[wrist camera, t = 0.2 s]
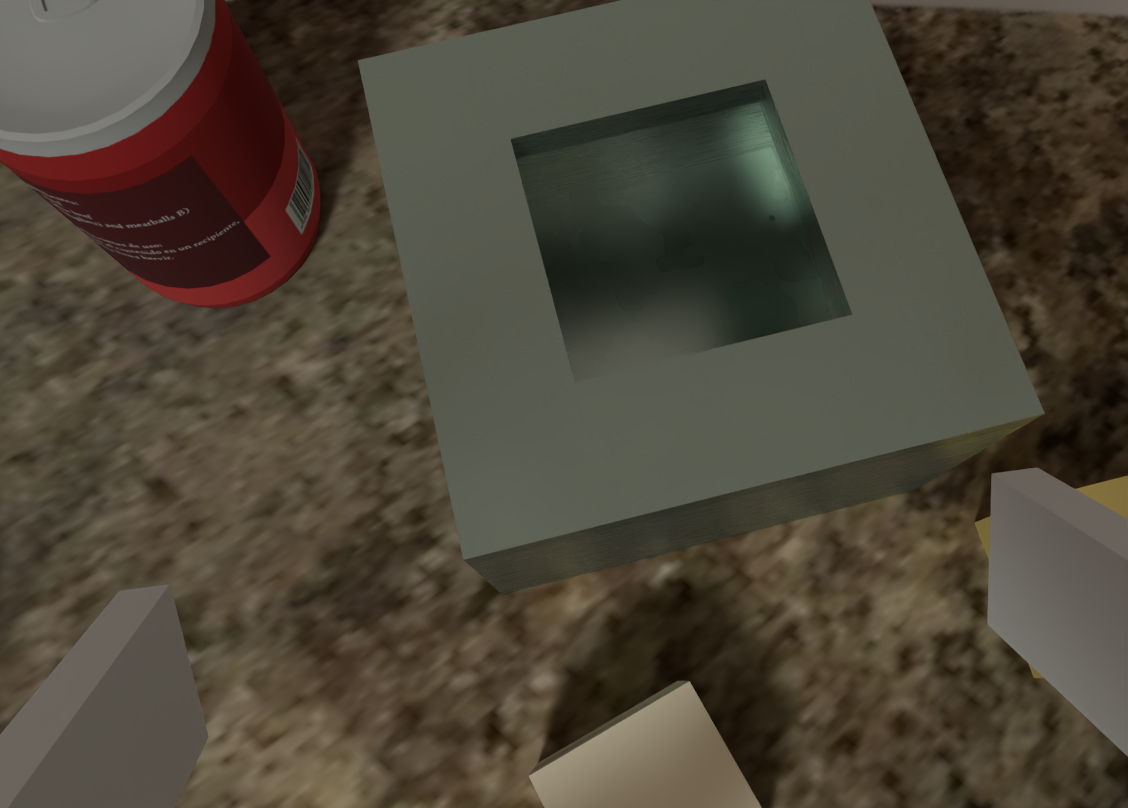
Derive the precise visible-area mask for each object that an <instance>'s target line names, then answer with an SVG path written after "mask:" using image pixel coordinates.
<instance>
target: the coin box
mask: <svg viewBox="0 0 1128 808" xmlns="http://www.w3.org/2000/svg"><path fill="white" fill-rule="evenodd" d="M358 64H359V68H360V73H361V78H362V83H363V87H364V92H365V97H366V101H367V106H368V111H369V116H370V120H371V125H372V130H373V135H374V139H375V144H376V149H377V153H378V158H379V163H380V168H381V172H382V177H383V182H384V187H385V191H386V196H387V201H388V205H389V210H390V215H391V220H392V224H393V229H394V234H395V238H396V243H397V248H398V253H399V257H400V262H401V267H402V272H403V276H404V281H405V286H406V290H407V295H408V300H409V305H410V309H411V314H412V319H413V324H414V328H415V333H416V338H417V342H418V347H419V352H420V357H421V361H422V366H423V371H424V376H425V380H426V385H427V390H428V394H429V399H430V404H431V409H432V413H433V418H434V423H435V427H436V432H437V437H438V442H439V446H440V451H441V456H442V461H443V465H444V470H445V475H446V479H447V484H448V489H449V494H450V498H451V503H452V508H453V513H454V517H455V522H456V527H457V531H458V536H459V541H460V546H461V550H462V555H463V560H464V561H465V562H467V563H468V564H469V565H470V566H471V567H472V568H473V569H475V570H476V571H477V572H478V573H479V574H480V575H481V576H482V577H484V578H485V579H486V580H487V581H488V582H489V583H490V584H492V585H493V586H494V587H495V588H496V589H497V590H498V591H499V592H501V593H502V594H506V593H510V592H514V591H518V590H521V589H525V588H529V587H533V586H537V585H541V584H545V583H549V582H553V581H557V580H561V579H565V578H569V577H573V576H577V575H581V574H585V573H589V572H592V571H596V570H600V569H604V568H608V567H612V566H616V565H620V564H624V563H628V562H632V561H636V560H640V559H644V558H648V557H652V556H656V555H660V554H664V553H667V552H671V551H675V550H679V549H683V548H687V547H691V546H695V545H699V544H703V543H707V542H711V541H715V540H719V539H723V538H727V537H731V536H735V535H738V534H742V533H746V532H750V531H754V530H758V529H762V528H766V527H770V526H774V525H778V524H782V523H786V522H790V521H794V520H798V519H802V518H806V517H809V516H813V515H817V514H821V513H825V512H829V511H833V510H837V509H841V508H845V507H849V506H853V505H857V504H861V503H865V502H869V501H873V500H877V499H881V498H884V497H888V496H892V495H896V494H900V493H904V492H908V491H912V490H915V489H917V488H919V487H920V486H922V485H924V484H926V483H927V482H929V481H931V480H932V479H934V478H936V477H938V476H939V475H941V474H943V473H944V472H946V471H948V470H949V469H951V468H953V467H955V466H956V465H958V464H960V463H961V462H963V461H965V460H967V459H968V458H970V457H972V456H973V455H975V454H977V453H978V452H980V451H982V450H984V449H985V448H987V447H989V446H990V445H992V444H994V443H996V442H997V441H999V440H1001V439H1002V438H1004V437H1006V436H1007V435H1009V434H1011V433H1013V432H1014V431H1016V430H1018V429H1019V428H1021V427H1023V426H1025V425H1026V424H1028V423H1030V422H1031V421H1033V420H1035V419H1036V418H1038V417H1040V416H1042V415H1043V414H1045V413H1044V410H1043V408H1042V406H1041V403H1040V401H1039V398H1038V396H1037V394H1036V391H1035V389H1034V387H1033V384H1032V382H1031V380H1030V377H1029V375H1028V373H1027V370H1026V368H1025V365H1024V363H1023V361H1022V358H1021V356H1020V354H1019V351H1018V349H1017V347H1016V344H1015V342H1014V339H1013V337H1012V335H1011V332H1010V330H1009V328H1008V325H1007V323H1006V321H1005V318H1004V316H1003V314H1002V311H1001V309H1000V306H999V304H998V302H997V299H996V297H995V295H994V292H993V290H992V288H991V285H990V283H989V280H988V278H987V276H986V273H985V271H984V269H983V266H982V264H981V262H980V259H979V257H978V255H977V252H976V250H975V247H974V245H973V243H972V240H971V238H970V236H969V233H968V231H967V229H966V226H965V224H964V221H963V219H962V217H961V214H960V212H959V210H958V207H957V205H956V203H955V200H954V198H953V196H952V193H951V191H950V188H949V186H948V184H947V181H946V179H945V177H944V174H943V172H942V170H941V167H940V165H939V163H938V160H937V158H936V155H935V153H934V151H933V148H932V146H931V144H930V141H929V139H928V137H927V134H926V132H925V129H924V127H923V125H922V122H921V120H920V118H919V115H918V113H917V111H916V108H915V106H914V104H913V101H912V99H911V96H910V94H909V92H908V89H907V87H906V85H905V82H904V80H903V78H902V75H901V73H900V70H899V68H898V66H897V63H896V61H895V59H894V56H893V54H892V52H891V49H890V47H889V45H888V42H887V40H886V37H885V35H884V33H883V30H882V28H881V26H880V23H879V21H878V19H877V16H876V14H875V11H874V9H873V7H872V4H871V2H870V0H620V1H615V2H611V3H607V4H602V5H598V6H593V7H589V8H585V9H580V10H576V11H572V12H567V13H563V14H559V15H554V16H550V17H545V18H541V19H537V20H532V21H528V22H524V23H519V24H515V25H510V26H506V27H502V28H497V29H493V30H489V31H484V32H480V33H476V34H471V35H467V36H462V37H458V38H454V39H449V40H445V41H441V42H436V43H432V44H428V45H423V46H419V47H414V48H410V49H406V50H401V51H397V52H393V53H388V54H384V55H379V56H375V57H371V58H366V59H362V60H358Z"/></svg>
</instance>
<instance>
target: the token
mask: <svg viewBox="0 0 1128 808" xmlns="http://www.w3.org/2000/svg"><path fill="white" fill-rule="evenodd" d="M529 778H530V780H531V782H532V784H533V785H534V787H535V789H536V791H537V793H538V795H539V797H540V799H541V801H542V803H543V805H544V807H545V808H761V806H760V804H759V802H758V800H757V799H756V797H755V795H754V793H753V792H752V790H751V788H750V786H749V785H748V783H747V781H746V779H745V778H744V776H743V774H742V772H741V771H740V769H739V767H738V765H737V764H736V762H735V760H734V758H733V757H732V755H731V753H730V751H729V750H728V748H727V746H726V744H725V743H724V741H723V739H722V737H721V736H720V734H719V732H718V730H717V729H716V727H715V725H714V723H713V722H712V720H711V718H710V716H709V715H708V713H707V711H706V709H705V708H704V706H703V704H702V702H701V701H700V699H699V697H698V695H697V693H696V692H695V690H694V688H693V686H692V685H691V683H690V681H676V682H675V683H673V684H671V685H669V686H668V687H666V688H664V689H663V690H661V691H659V692H658V693H656V694H654V695H652V696H651V697H649V698H647V699H646V700H644V701H642V702H641V703H639V704H637V705H635V706H634V707H632V708H630V709H629V710H627V711H625V712H624V713H622V714H620V715H618V716H617V717H615V718H613V719H612V720H610V721H608V722H607V723H605V724H603V725H602V726H600V727H598V728H596V729H595V730H593V731H591V732H590V733H588V734H586V735H585V736H583V737H581V738H579V739H578V740H576V741H574V742H573V743H571V744H569V745H568V746H566V747H564V748H562V749H561V750H559V751H557V752H556V753H554V754H552V755H551V756H549V757H547V758H545V759H544V760H542V761H540V762H539V763H538V764H537V765H536V766H535V768H534V769H533V771H532V772H531V774H530V775H529Z"/></svg>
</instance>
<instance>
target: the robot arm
mask: <svg viewBox="0 0 1128 808" xmlns="http://www.w3.org/2000/svg"><path fill="white" fill-rule="evenodd" d="M987 625H989V626H990V627H991V628H992V629H993V630H994V631H995V632H996V633H997V634H998V635H999V636H1000V637H1001V638H1002V639H1003V640H1004V641H1006V642H1007V643H1008V644H1009V645H1010V646H1011V647H1012V648H1013V649H1014V650H1015V651H1016V652H1017V653H1018V654H1019V655H1020V656H1021V657H1023V658H1024V659H1025V660H1026V661H1027V662H1028V663H1029V664H1030V665H1031V666H1032V667H1033V668H1034V669H1035V670H1036V671H1037V672H1038V673H1040V674H1041V675H1042V676H1043V677H1044V678H1045V679H1046V680H1047V681H1048V682H1049V683H1050V684H1051V685H1052V686H1053V687H1054V688H1055V689H1057V690H1058V691H1059V692H1060V693H1061V694H1062V695H1063V696H1064V697H1065V698H1066V699H1067V700H1068V701H1069V702H1070V703H1071V704H1072V705H1074V706H1075V707H1076V708H1077V709H1078V710H1079V711H1080V712H1081V713H1082V714H1083V715H1084V716H1085V717H1086V718H1087V719H1088V720H1089V721H1091V722H1092V723H1093V724H1094V725H1095V726H1096V727H1097V728H1098V729H1099V730H1100V731H1101V732H1102V733H1103V734H1104V735H1105V736H1106V737H1108V738H1109V739H1110V740H1111V741H1112V742H1113V743H1114V744H1115V745H1116V746H1117V747H1118V748H1119V749H1120V750H1121V751H1122V752H1123V753H1125V754H1126V755H1127V756H1128V519H1126V518H1125V517H1123V516H1121V515H1119V514H1118V513H1116V512H1114V511H1112V510H1111V509H1109V508H1107V507H1105V506H1104V505H1102V504H1100V503H1098V502H1097V501H1095V500H1093V499H1091V498H1090V497H1088V496H1086V495H1084V494H1083V493H1081V492H1079V491H1077V490H1076V489H1074V488H1072V487H1070V486H1069V485H1067V484H1065V483H1063V482H1062V481H1060V480H1058V479H1057V478H1055V477H1053V476H1051V475H1050V474H1048V473H1046V472H1044V471H1043V470H1041V469H1039V468H1029V469H1022V470H1014V471H1007V472H1000V473H992V478H991V514H990V551H989V587H988V623H987ZM207 739H208V732H207V729H206V725H205V721H204V717H203V713H202V709H201V705H200V701H199V697H198V693H197V689H196V685H195V681H194V677H193V673H192V670H191V666H190V662H189V658H188V654H187V650H186V646H185V642H184V638H183V634H182V630H181V626H180V622H179V618H178V614H177V611H176V607H175V603H174V599H173V595H172V591H171V587H170V584H168V585H160V586H153V587H145V588H138V589H130V590H123V591H119V592H118V593H117V594H116V596H115V597H114V598H113V599H112V600H111V602H110V603H109V604H108V605H107V606H106V608H105V609H104V610H103V611H102V612H101V614H100V615H99V616H98V617H97V619H96V620H95V621H94V622H93V623H92V625H91V626H90V627H89V628H88V629H87V631H86V632H85V633H84V634H83V635H82V637H81V638H80V639H79V640H78V641H77V643H76V644H75V645H74V646H73V647H72V649H71V650H70V651H69V652H68V653H67V655H66V656H65V657H64V658H63V660H62V661H61V662H60V663H59V664H58V666H57V667H56V668H55V669H54V670H53V672H52V673H51V674H50V675H49V676H48V678H47V679H46V680H45V681H44V682H43V684H42V685H41V686H40V687H39V688H38V690H37V691H36V692H35V693H34V694H33V696H32V697H31V698H30V699H29V701H28V702H27V703H26V704H25V705H24V707H23V708H22V709H21V710H20V711H19V713H18V714H17V715H16V716H15V717H14V719H13V720H12V721H11V722H10V723H9V725H8V726H7V727H6V728H5V729H4V731H3V732H2V733H1V734H0V808H175V807H176V804H177V802H178V800H179V798H180V796H181V794H182V792H183V790H184V787H185V785H186V783H187V781H188V779H189V777H190V775H191V773H192V770H193V768H194V766H195V764H196V762H197V760H198V758H199V756H200V753H201V751H202V749H203V747H204V745H205V743H206V741H207Z"/></svg>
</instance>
